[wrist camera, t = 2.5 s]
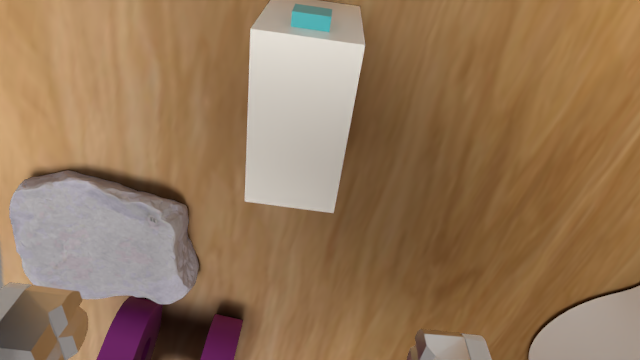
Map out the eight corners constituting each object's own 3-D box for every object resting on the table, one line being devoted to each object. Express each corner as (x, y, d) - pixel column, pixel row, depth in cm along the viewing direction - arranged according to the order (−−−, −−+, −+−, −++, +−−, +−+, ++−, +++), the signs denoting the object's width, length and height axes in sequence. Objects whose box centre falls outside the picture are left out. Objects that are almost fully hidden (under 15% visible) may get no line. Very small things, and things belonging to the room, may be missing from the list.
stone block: (34, 153, 31) (58, 268, 35) (-14, 179, 26) (19, 308, 30) (198, 164, 31) (203, 276, 35) (178, 191, 27) (187, 316, 31)
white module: (362, -7, 22) (368, 29, 16) (336, 146, 27) (333, 213, 21) (275, -19, 22) (251, 12, 16) (265, 136, 27) (244, 201, 21)
